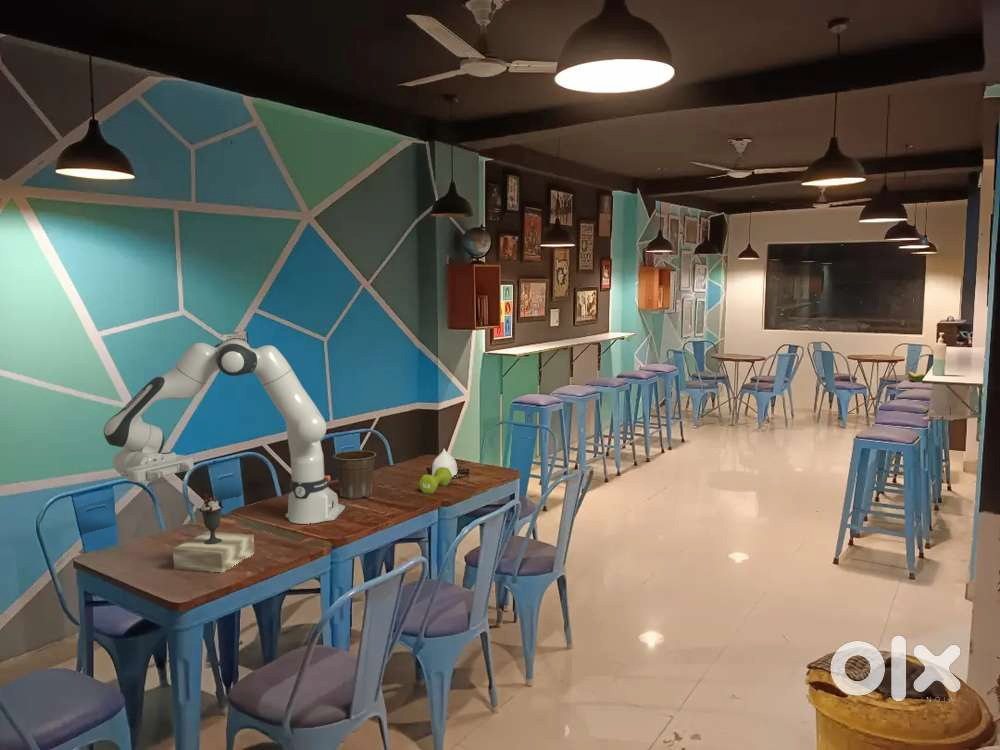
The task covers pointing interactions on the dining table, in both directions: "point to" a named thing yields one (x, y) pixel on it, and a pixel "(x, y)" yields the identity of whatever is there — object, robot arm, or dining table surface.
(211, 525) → the sundae
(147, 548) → the dining table surface
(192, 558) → the cream block
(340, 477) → the plant pot
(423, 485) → the dumbbell
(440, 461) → the teardrop
